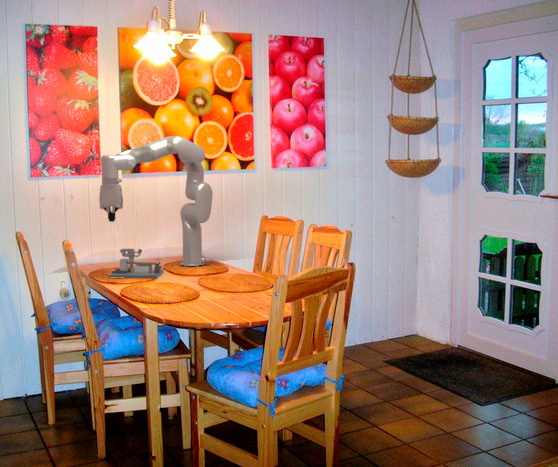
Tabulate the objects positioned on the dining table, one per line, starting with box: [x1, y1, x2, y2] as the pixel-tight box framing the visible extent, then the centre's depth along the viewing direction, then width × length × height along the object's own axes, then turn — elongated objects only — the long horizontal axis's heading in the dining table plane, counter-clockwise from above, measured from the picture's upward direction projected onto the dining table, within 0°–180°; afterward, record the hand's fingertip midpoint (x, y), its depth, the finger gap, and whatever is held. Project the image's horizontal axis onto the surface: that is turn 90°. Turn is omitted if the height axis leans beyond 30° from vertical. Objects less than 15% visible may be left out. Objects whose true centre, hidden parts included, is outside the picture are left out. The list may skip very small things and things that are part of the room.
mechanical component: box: [119, 248, 143, 269], centre depth 339 cm, size 3×10×10 cm, turn 89°
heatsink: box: [133, 264, 153, 274], centre depth 322 cm, size 7×7×3 cm
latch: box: [119, 258, 134, 271], centre depth 322 cm, size 5×4×6 cm
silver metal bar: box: [128, 261, 161, 266], centre depth 322 cm, size 15×3×2 cm, turn 87°
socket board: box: [108, 264, 165, 280], centre depth 322 cm, size 22×16×4 cm
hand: (111, 221), depth 321 cm, fingers closed
